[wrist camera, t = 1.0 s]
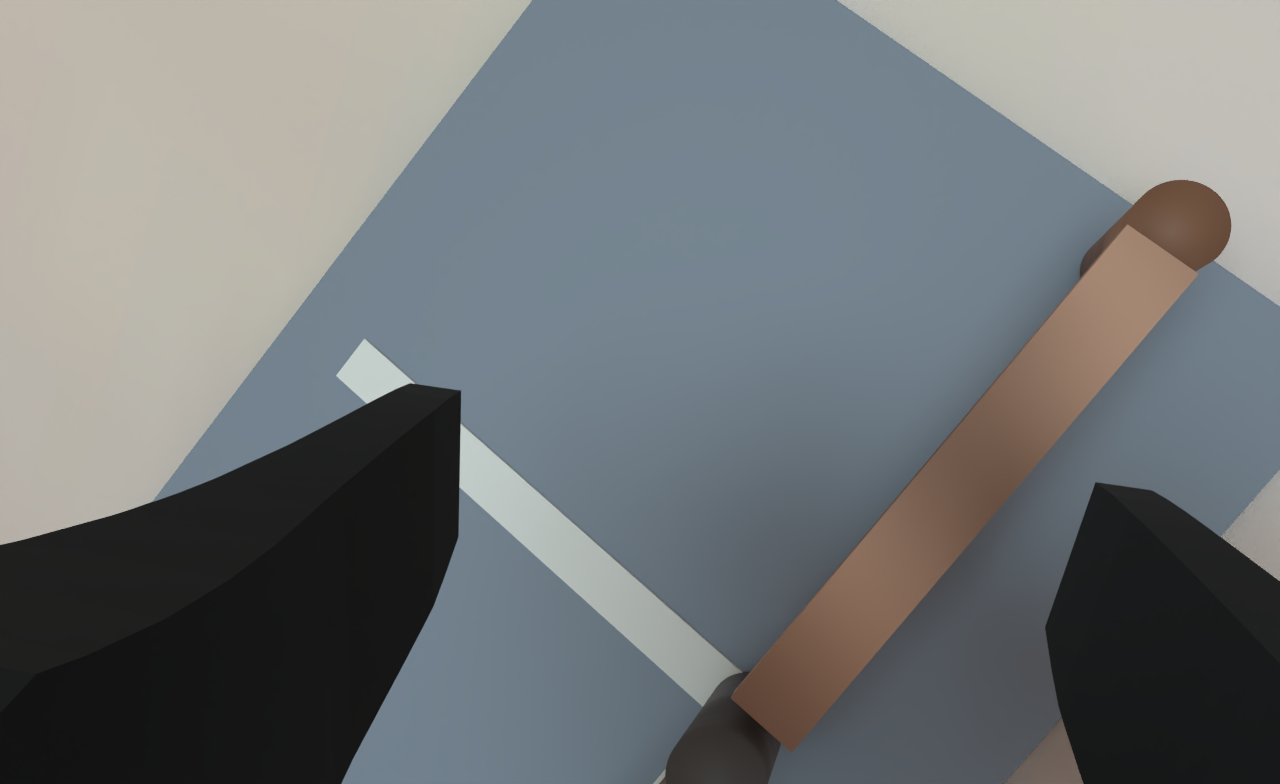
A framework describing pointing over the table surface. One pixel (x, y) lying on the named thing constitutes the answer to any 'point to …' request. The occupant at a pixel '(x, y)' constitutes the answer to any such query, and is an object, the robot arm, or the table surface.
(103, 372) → the table surface
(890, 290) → the board
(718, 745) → the dark brown wooden bar
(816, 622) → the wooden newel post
